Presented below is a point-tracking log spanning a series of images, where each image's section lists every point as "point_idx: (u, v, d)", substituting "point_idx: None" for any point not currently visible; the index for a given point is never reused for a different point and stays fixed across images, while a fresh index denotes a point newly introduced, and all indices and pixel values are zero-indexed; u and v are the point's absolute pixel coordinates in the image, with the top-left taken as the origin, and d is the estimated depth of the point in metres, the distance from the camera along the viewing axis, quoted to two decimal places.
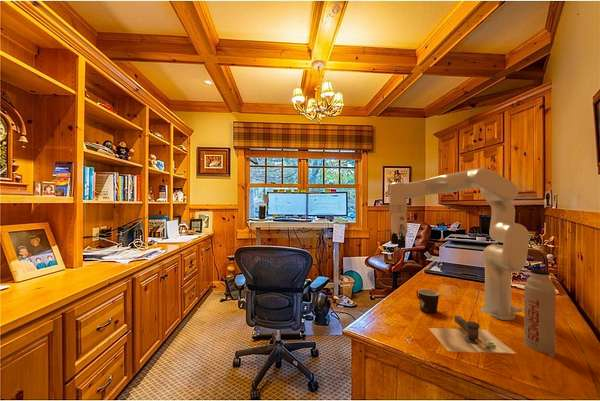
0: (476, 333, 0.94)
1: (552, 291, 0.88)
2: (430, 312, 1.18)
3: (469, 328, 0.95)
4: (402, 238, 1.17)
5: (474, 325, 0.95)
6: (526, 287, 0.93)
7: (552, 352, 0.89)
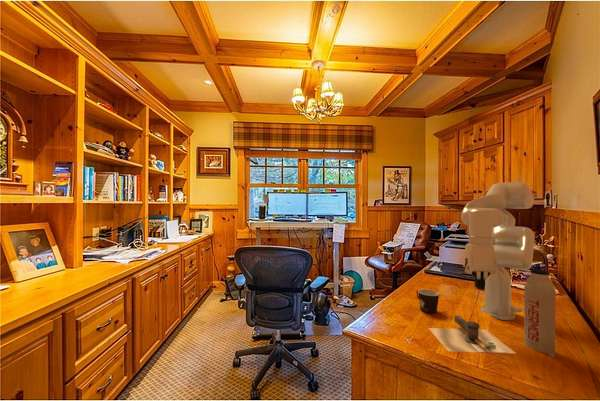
0: (476, 333, 0.94)
1: (552, 291, 0.88)
2: (430, 312, 1.18)
3: (469, 328, 0.95)
4: None
5: (474, 325, 0.95)
6: (526, 287, 0.93)
7: (552, 352, 0.89)
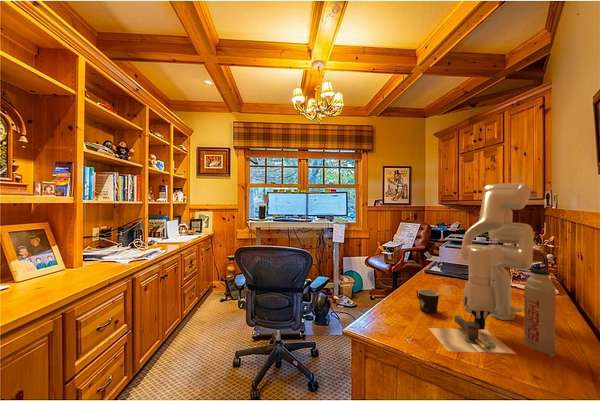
0: (476, 333, 0.94)
1: (552, 291, 0.88)
2: (430, 312, 1.18)
3: (469, 328, 0.95)
4: None
5: (474, 325, 0.95)
6: (526, 287, 0.93)
7: (552, 352, 0.89)
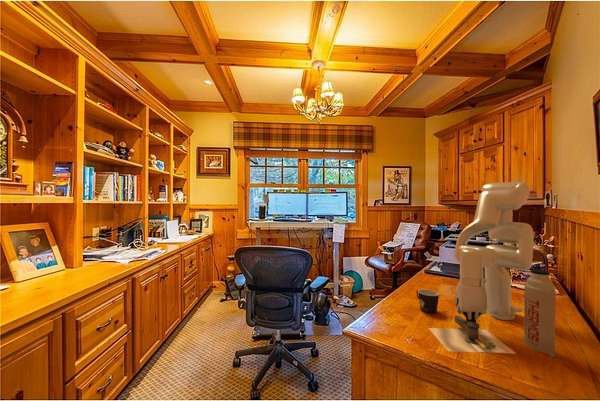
0: (476, 333, 0.94)
1: (552, 291, 0.88)
2: (430, 312, 1.18)
3: (469, 328, 0.95)
4: None
5: (474, 325, 0.95)
6: (526, 287, 0.93)
7: (552, 352, 0.89)
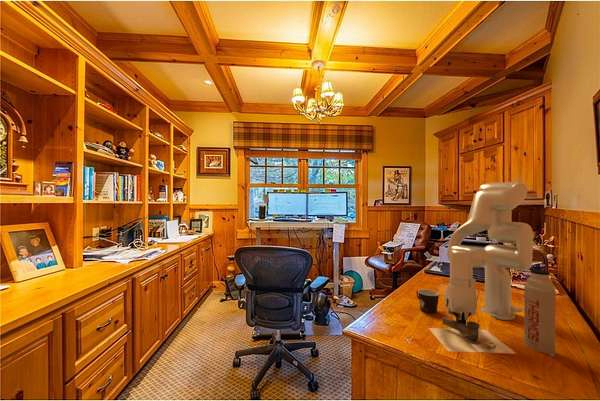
0: None
1: (552, 291, 0.88)
2: (430, 312, 1.18)
3: (472, 329, 0.95)
4: None
5: (476, 325, 0.95)
6: (526, 287, 0.93)
7: (552, 352, 0.89)
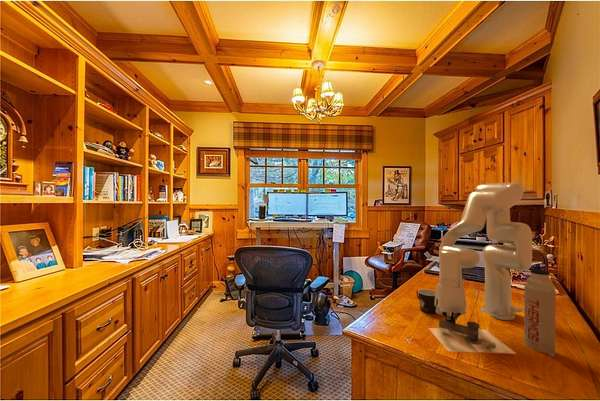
0: None
1: (552, 291, 0.88)
2: (430, 312, 1.18)
3: (473, 329, 0.94)
4: None
5: (476, 325, 0.95)
6: (526, 287, 0.93)
7: (552, 352, 0.89)
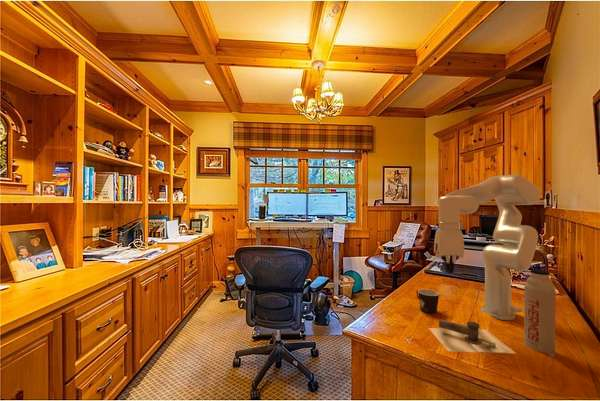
0: None
1: (552, 291, 0.88)
2: (430, 312, 1.18)
3: (473, 329, 0.94)
4: None
5: (476, 325, 0.95)
6: (526, 287, 0.93)
7: (552, 352, 0.89)
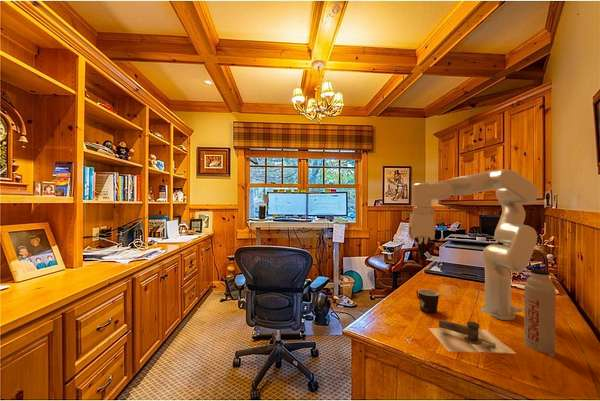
0: None
1: (552, 291, 0.88)
2: (430, 312, 1.18)
3: (473, 329, 0.94)
4: None
5: (476, 325, 0.95)
6: (526, 287, 0.93)
7: (552, 352, 0.89)
